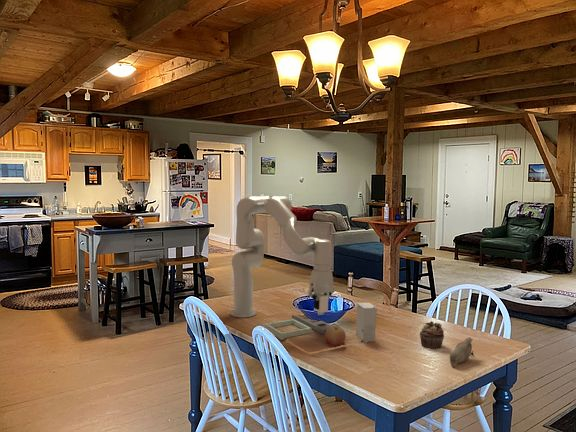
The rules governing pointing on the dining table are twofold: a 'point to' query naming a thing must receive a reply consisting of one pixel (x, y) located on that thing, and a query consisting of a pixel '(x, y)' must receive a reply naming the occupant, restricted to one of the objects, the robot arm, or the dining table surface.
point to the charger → (322, 304)
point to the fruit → (335, 335)
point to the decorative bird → (461, 352)
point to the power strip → (312, 323)
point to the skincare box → (366, 321)
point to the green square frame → (283, 335)
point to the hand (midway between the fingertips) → (320, 307)
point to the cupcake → (432, 336)
